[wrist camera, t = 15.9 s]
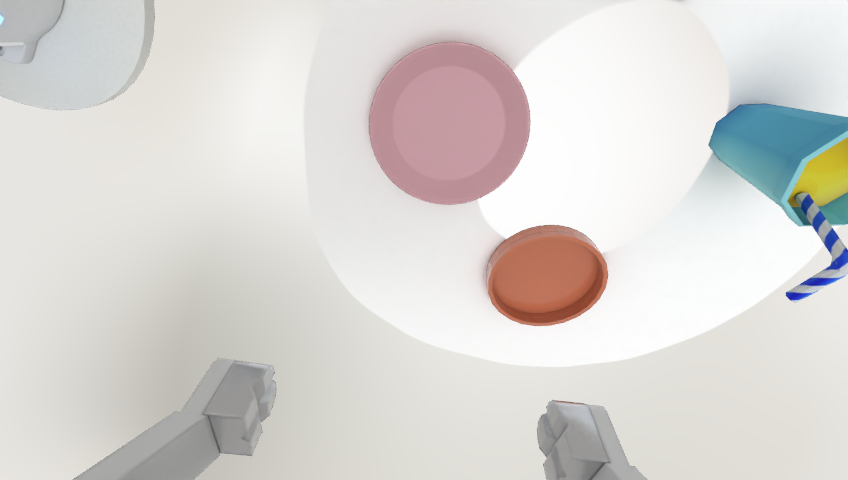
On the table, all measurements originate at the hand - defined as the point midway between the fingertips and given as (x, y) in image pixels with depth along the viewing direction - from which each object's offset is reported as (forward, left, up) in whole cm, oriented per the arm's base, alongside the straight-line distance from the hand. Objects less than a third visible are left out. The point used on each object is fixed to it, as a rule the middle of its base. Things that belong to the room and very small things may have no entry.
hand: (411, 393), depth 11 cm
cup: (+27, +3, -28) cm, 39 cm away
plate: (+1, 0, -28) cm, 28 cm away
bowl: (+15, -14, -28) cm, 35 cm away
